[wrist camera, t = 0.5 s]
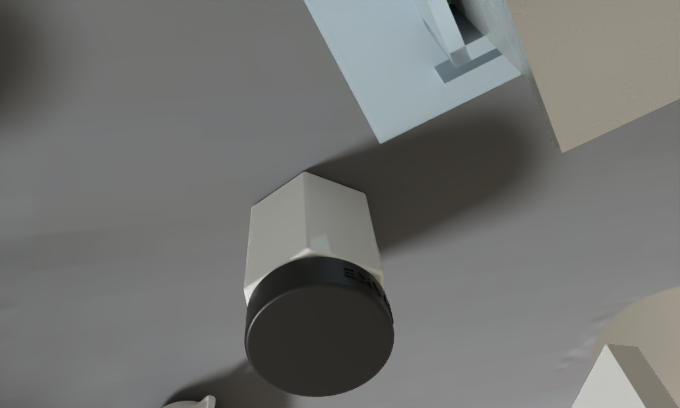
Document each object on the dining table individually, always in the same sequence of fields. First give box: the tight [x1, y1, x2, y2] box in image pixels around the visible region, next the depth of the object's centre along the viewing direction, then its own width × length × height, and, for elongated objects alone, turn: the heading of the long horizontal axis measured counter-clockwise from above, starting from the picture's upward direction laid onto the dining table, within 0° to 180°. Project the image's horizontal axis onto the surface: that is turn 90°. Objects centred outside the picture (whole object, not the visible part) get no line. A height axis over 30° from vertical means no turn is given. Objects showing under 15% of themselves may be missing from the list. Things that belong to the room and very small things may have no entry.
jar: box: [244, 172, 394, 397], centre depth 40 cm, size 9×8×12 cm
